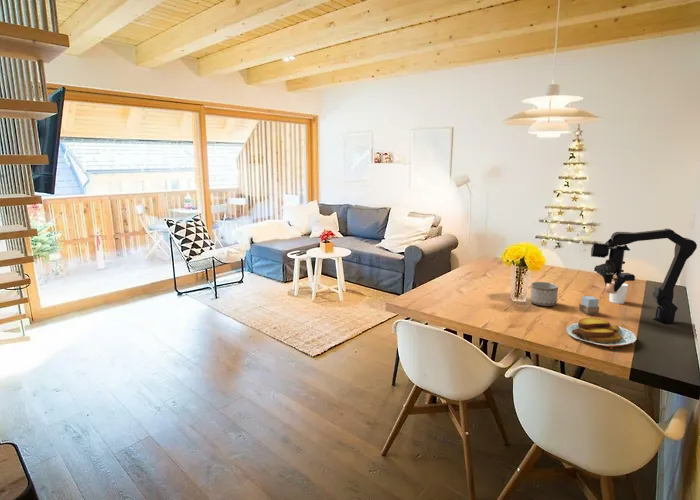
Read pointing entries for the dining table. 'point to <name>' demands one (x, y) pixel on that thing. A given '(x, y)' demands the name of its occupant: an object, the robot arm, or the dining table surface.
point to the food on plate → (601, 332)
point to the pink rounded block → (610, 288)
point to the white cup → (619, 294)
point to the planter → (544, 293)
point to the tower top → (589, 301)
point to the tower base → (588, 310)
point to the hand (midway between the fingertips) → (611, 290)
